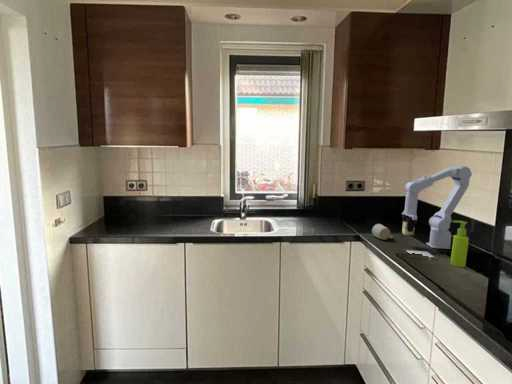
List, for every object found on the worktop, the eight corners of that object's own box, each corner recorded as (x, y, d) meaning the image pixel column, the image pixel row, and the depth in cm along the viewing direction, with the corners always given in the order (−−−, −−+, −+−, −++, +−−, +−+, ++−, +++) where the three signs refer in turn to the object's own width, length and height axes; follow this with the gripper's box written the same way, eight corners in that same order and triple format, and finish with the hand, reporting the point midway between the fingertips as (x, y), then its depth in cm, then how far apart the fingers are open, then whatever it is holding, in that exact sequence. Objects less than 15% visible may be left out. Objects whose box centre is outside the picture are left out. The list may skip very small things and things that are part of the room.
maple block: (410, 232, 181) (411, 221, 180) (413, 235, 176) (414, 223, 175) (401, 232, 181) (403, 221, 180) (404, 234, 177) (405, 223, 176)
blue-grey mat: (427, 251, 170) (427, 251, 170) (437, 259, 158) (437, 259, 158) (398, 250, 171) (398, 249, 171) (406, 257, 159) (406, 257, 159)
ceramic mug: (379, 240, 187) (380, 227, 186) (371, 236, 195) (372, 223, 194) (396, 240, 189) (397, 227, 188) (387, 236, 197) (388, 223, 196)
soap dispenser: (448, 261, 157) (454, 219, 154) (466, 264, 153) (471, 221, 150) (446, 264, 153) (451, 221, 150) (464, 268, 148) (469, 223, 145)
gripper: (398, 202, 184) (396, 226, 186) (407, 207, 170) (405, 233, 171) (412, 202, 183) (409, 227, 185) (422, 208, 169) (419, 234, 171)
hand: (408, 230), depth 178 cm, fingers closed on maple block, 4 cm apart
